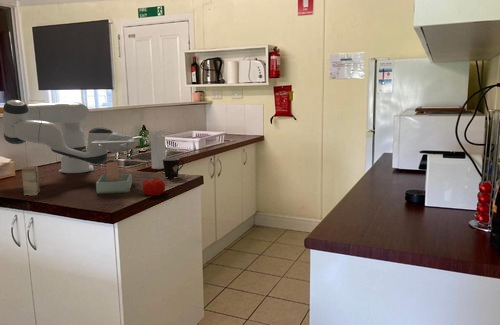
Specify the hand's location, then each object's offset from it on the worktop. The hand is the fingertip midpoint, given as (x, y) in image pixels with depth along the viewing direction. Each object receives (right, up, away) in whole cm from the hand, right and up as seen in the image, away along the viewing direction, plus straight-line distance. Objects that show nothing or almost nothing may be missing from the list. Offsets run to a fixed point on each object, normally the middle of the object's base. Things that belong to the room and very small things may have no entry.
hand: (111, 147), depth 188 cm
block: (-34, -21, -5) cm, 40 cm away
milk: (+9, -11, +56) cm, 58 cm away
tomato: (+21, -21, -6) cm, 30 cm away
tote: (0, -19, +5) cm, 20 cm away
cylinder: (+1, -19, +1) cm, 19 cm away
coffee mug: (+23, -15, +29) cm, 40 cm away
